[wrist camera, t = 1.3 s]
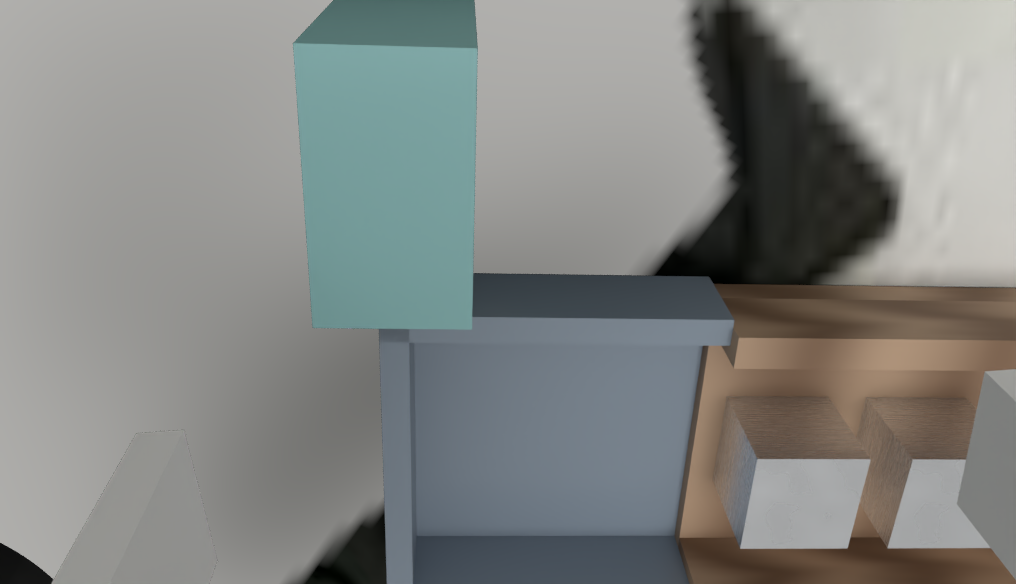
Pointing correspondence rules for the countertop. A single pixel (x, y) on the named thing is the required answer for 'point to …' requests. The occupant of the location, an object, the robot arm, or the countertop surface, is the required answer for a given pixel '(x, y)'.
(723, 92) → the countertop surface
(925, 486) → the light grey cube
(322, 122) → the upright teal block
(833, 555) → the channel
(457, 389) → the tray
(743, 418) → the grey cube
